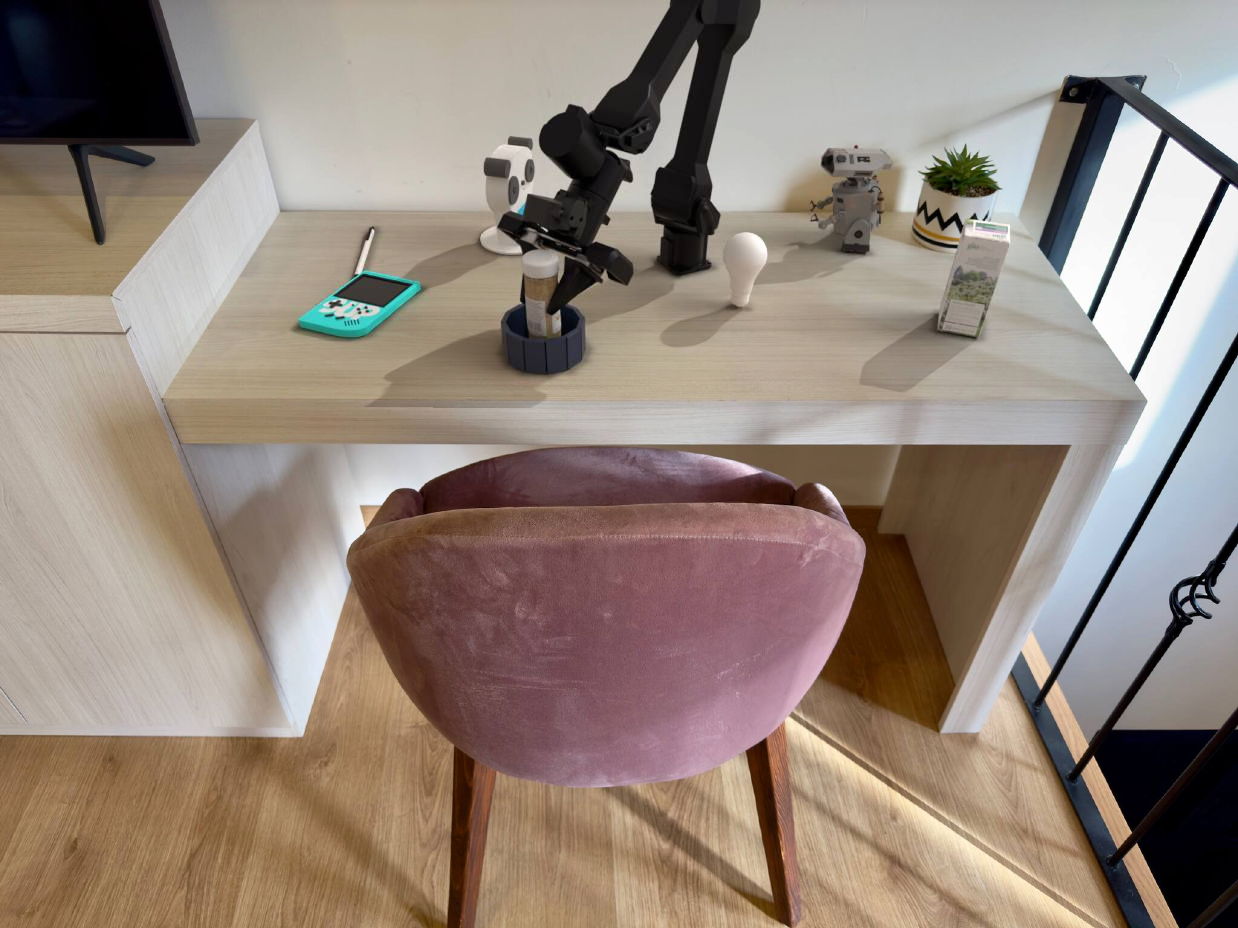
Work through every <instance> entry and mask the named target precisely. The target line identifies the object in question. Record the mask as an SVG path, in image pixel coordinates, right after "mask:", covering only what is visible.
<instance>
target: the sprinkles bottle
mask: <svg viewBox="0 0 1238 928" xmlns="http://www.w3.org/2000/svg"><path fill="white" fill-rule="evenodd" d="M521 271H522V275H524V280H525V300H526V313H527V325H528V330H529V338H530V339H541V340H546V339H551V338H556V337H561V317H560V310H559V311H558V312H556V313H555V314H554V315H553V316H551V315H549V314H548V313H547V312H546V311H547V308H548V305H549V303H550V300H551V298H552V296H553V294H554V292H555V290H556V288H557V286H558V283H559V271H560V259H559V256H558V254H557V253H556V252H555V251H553V250H551V249H549V250H543V249H539V250H532V251H529V252H527V253H526V254H524V255H523V254H522V257H521Z"/></svg>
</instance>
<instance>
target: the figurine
mask: <svg viewBox="0 0 1238 928" xmlns="http://www.w3.org/2000/svg"><path fill="white" fill-rule="evenodd" d="M820 158H821V159H820V167H821V168H822V169H823V170H824V171H825V172H826V173H827V174H828V175H829V176H830V177H832V178H846V179H844V180H840V181H838V182H834V183H833V184H832V187H831V193H832V196H831V195H827V196H826V197H825V198H824V199H823V200H821V199H820V200H818V201H817V203H814V201H813V200H812V199H811V200H810V202H809V205H811V204H812V208H809V210H810V212H813V211H814V209H815V208H817V209H818V210H821V211H822V210H823V209H824V208H825V207H827V206H829V205H832V214H830V215H829V217H828V218H826V219H825V220H821V219H820V218H818V215H817V213H814V214H813V215H812V216H811V217H810V220H809V221H810V223H813V222H817V223H818V225H817V227H818V229H820V230H821V231H824V230H825V229H827V227H828V226H830V225H832V227H833V230H834V233H837V234H841V235H844V240H843V241H842V243H841V246H840V248H841V251H842V252H843V253H850V254H852V253H853V252H856V253H857V254H864V255H865V254H866V253H869V252H870V250H871V249H870V247H871V245H870V242H871V241H870V240H871V233H872V232H874V231H875V230H877V229H879V227H880V225H881V224H882V215H883V214H884V213H885V209H884V208H885V202H884V201H885V193H884V191H882V189H881V188H880V186H879V176H878V175H877V174H878V173H880V172H881V171H882V170H890V169H891V168H892V166H893V164H894V161H893V159H892V158H891V156H889V154H888V153H887V152H885V150H883V149H882V148H859V144H855V145H854V147H853V148H852V147H851V148H848V147H847V148H846V147H844V148H841V147H828V148H827V149H826V150H825V152H824V153H823V154H822V155H821V157H820ZM814 217H815V218H814ZM813 218H814V219H813Z"/></svg>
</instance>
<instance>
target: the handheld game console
mask: <svg viewBox="0 0 1238 928" xmlns="http://www.w3.org/2000/svg"><path fill="white" fill-rule="evenodd" d="M421 289H422V288H421V282H420V281H417V280H413V279H408V278H404V277H399V276H393V275H389V274H384V273H380V272H376V271H370V270H362V273H360V274H359V275H357V276H356V277H355V278H354V277H353V278H352V279H351V280H350V281H348V282H347V283H345V284H344V285H343V286H341V287H340V288H338V289H337V290H336V291H334V292H333V293H332V294H330V295H329V296H328V297H326V298H325V299H324V300H322V301H321V302H320V303H318V304H317V305H315V306H314V307H312V309H310V310H309V311H307V312H306V313H304V314H303V315H301V316H300V317H299V318H298V319H297V320H298V324H299V327H300V328H302V329H306V330H310V331H315V332H319V333H323V334H327V335H331V336H336V337H342V338H359V337H364V336H366V335H368V334H370V332H372V331H373V330H374V329H375V328H377V327H378V326H379V325H380V324H381V323H383V322H384V321H385V320H386V319H387V318H389V317H390V316H391V315H392V314H393V313H394V312H395V311H397V310H398V309H399V308H401V307H402V306H403V305H404V304H405V303H406V302H408V301H409V300H410V299H411V298H412V297H414V296H415V295H416V294H418V293H419V292H420V291H421Z"/></svg>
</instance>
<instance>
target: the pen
mask: <svg viewBox="0 0 1238 928" xmlns="http://www.w3.org/2000/svg"><path fill="white" fill-rule="evenodd" d="M375 232H376V230H375V226H374V225H372V226H370V227H368V231H367V234H366V237H365V241H364V243H363V247H362V251H361V253H360V257H359V259H358V263H357V266H356V269H355V272H354V275H353V278H355V277H356V276H357V275H359V274H360V273H362V272H363V271H364V266H365V263H366V260H367V257H368V254H369V251H370V248H371V244H372V242H373V238H374V235H375Z"/></svg>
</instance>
